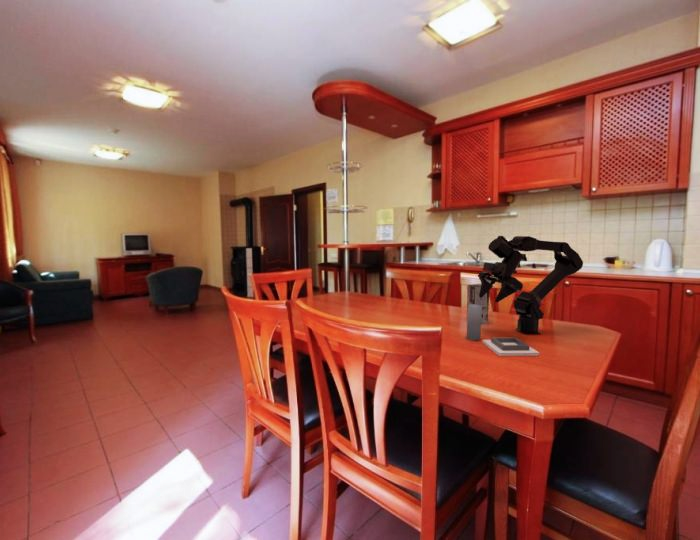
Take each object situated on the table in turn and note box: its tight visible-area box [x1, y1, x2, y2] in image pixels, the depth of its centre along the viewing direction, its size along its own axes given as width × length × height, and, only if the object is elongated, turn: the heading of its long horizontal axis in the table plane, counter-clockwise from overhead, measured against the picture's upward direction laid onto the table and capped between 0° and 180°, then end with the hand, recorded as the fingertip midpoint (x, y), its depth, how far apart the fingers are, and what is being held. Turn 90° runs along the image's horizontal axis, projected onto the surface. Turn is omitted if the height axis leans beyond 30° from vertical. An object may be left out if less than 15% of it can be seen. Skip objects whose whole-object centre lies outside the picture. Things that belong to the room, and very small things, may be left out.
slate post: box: [466, 304, 482, 342], centre depth 122 cm, size 5×5×12 cm
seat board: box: [481, 336, 540, 357], centre depth 112 cm, size 13×13×2 cm
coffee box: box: [466, 283, 490, 325], centre depth 146 cm, size 9×6×16 cm
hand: (487, 299), depth 125 cm, fingers open, 9 cm apart
